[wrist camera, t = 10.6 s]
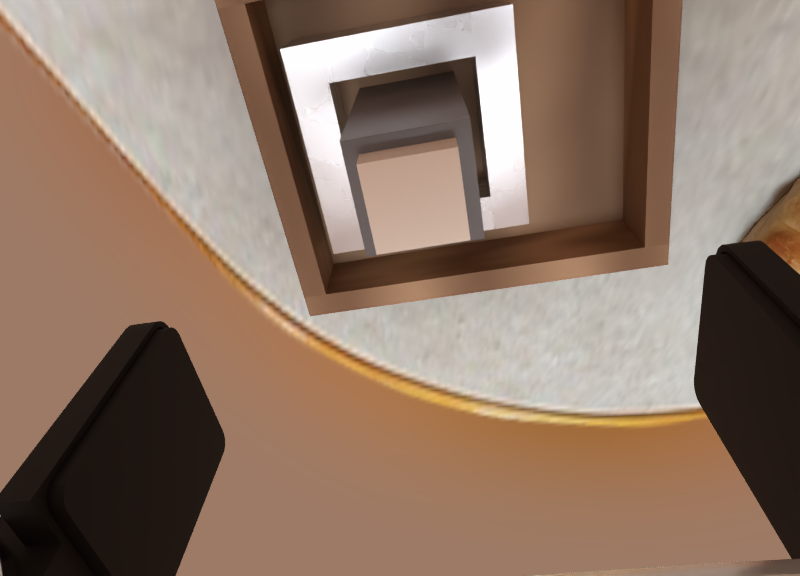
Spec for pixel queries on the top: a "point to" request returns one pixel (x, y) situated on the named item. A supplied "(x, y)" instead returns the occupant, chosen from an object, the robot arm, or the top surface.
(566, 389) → the top surface
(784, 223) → the pastry
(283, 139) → the walnut box
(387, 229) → the plug
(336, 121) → the socket
